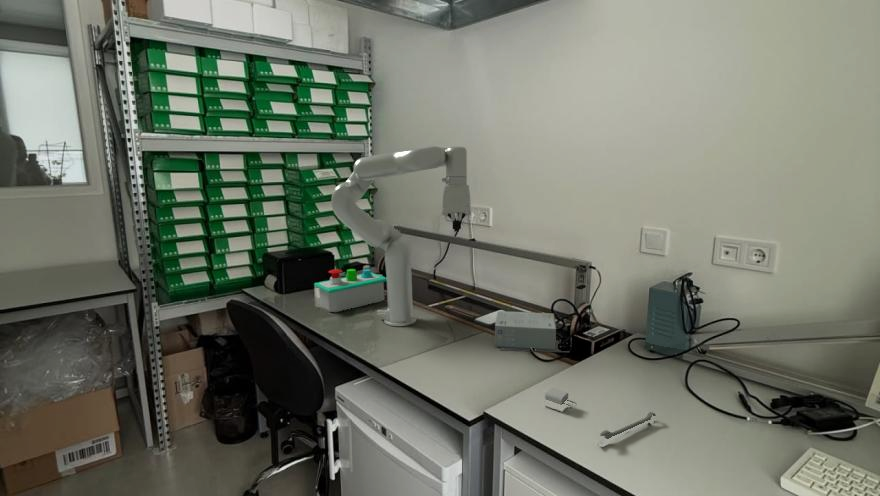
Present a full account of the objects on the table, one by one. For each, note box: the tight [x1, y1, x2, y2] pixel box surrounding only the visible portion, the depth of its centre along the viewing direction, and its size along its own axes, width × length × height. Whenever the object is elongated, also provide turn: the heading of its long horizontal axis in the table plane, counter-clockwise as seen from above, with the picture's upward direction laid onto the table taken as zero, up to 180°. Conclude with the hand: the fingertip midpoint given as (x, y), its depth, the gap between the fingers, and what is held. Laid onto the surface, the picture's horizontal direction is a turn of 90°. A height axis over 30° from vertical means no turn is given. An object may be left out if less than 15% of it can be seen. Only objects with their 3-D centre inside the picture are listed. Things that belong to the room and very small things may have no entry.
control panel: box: [313, 268, 387, 313], centre depth 202 cm, size 15×16×30 cm
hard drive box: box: [494, 310, 557, 350], centre depth 159 cm, size 16×8×20 cm
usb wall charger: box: [544, 387, 577, 408], centre depth 117 cm, size 4×7×4 cm, turn 51°
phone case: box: [473, 309, 505, 328], centre depth 181 cm, size 9×2×16 cm
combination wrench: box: [599, 411, 657, 439], centre depth 106 cm, size 4×1×20 cm
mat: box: [499, 340, 570, 353], centre depth 161 cm, size 22×20×1 cm
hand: (456, 231), depth 173 cm, fingers closed
